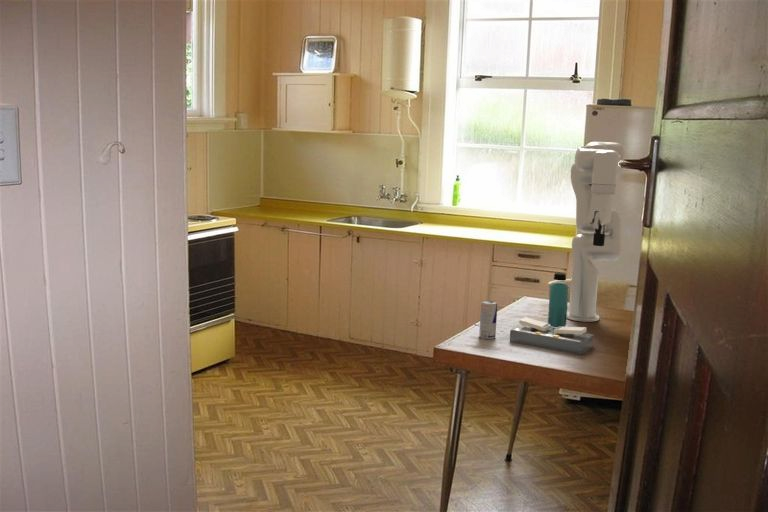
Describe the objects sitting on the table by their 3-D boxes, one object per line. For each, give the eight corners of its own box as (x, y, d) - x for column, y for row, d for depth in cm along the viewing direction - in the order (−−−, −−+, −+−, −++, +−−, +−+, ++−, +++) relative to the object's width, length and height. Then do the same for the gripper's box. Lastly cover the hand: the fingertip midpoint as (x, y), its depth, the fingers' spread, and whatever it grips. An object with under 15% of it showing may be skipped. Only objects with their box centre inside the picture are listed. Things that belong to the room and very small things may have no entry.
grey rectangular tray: (523, 333, 269) (524, 319, 268) (592, 346, 257) (594, 331, 256) (509, 341, 259) (510, 327, 258) (581, 355, 247) (582, 340, 246)
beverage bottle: (566, 332, 273) (570, 275, 269) (546, 330, 274) (550, 274, 271) (565, 327, 279) (570, 272, 276) (546, 326, 280) (550, 270, 277)
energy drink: (497, 336, 264) (500, 301, 262) (491, 340, 260) (493, 304, 258) (483, 334, 267) (485, 299, 265) (476, 337, 262) (478, 302, 260)
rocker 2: (559, 329, 258) (559, 326, 258) (586, 331, 254) (586, 327, 254) (554, 333, 254) (554, 329, 254) (581, 334, 250) (581, 330, 249)
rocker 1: (524, 320, 265) (525, 316, 264) (550, 328, 260) (550, 324, 260) (519, 323, 260) (519, 319, 260) (544, 331, 256) (545, 327, 256)
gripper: (598, 187, 264) (594, 241, 267) (584, 190, 251) (580, 247, 254) (621, 189, 260) (616, 244, 263) (608, 191, 247) (603, 249, 251)
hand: (598, 245), depth 259 cm, fingers closed
